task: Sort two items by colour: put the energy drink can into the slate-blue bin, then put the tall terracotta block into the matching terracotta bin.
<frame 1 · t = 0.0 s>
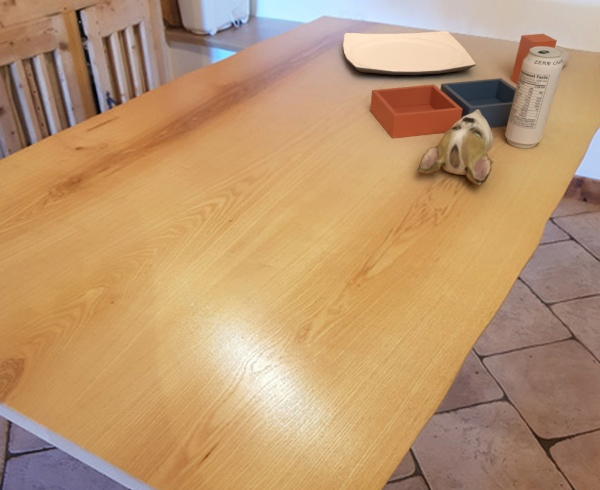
plate: (403, 60, 130), on the table
clay bin: (412, 120, 103), on the table
slate bin: (481, 113, 105), on the table
donut: (544, 65, 126), on the table
ceramic sculpture: (458, 171, 88), on the table
terracotta block: (527, 82, 117), on the table
energy drink can: (521, 142, 95), on the table
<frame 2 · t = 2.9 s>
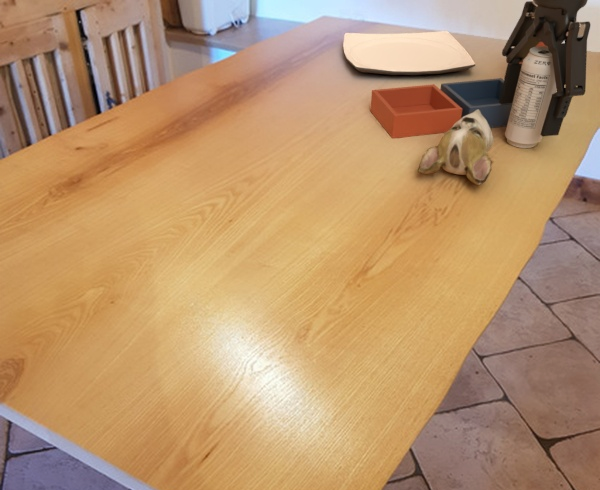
hand: (526, 118, 92), 4 cm above the table, tool pointing down, fingers open, 13 cm apart
nothing on the table moved.
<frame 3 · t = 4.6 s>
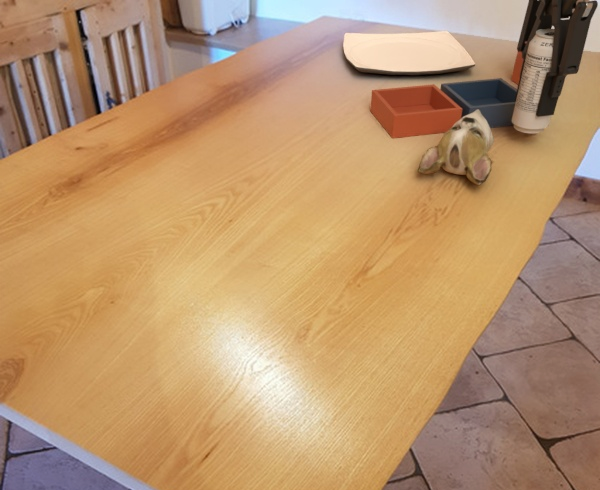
hand: (533, 107, 91), 6 cm above the table, tool pointing down, fingers closed on energy drink can, 6 cm apart
energy drink can: (528, 128, 93), point 2 cm above the table, touching gripper
everything else where it was.
when the fingers open (4 cm above the table, at t = 10.7 s): energy drink can stays where it is, resting on slate bin.
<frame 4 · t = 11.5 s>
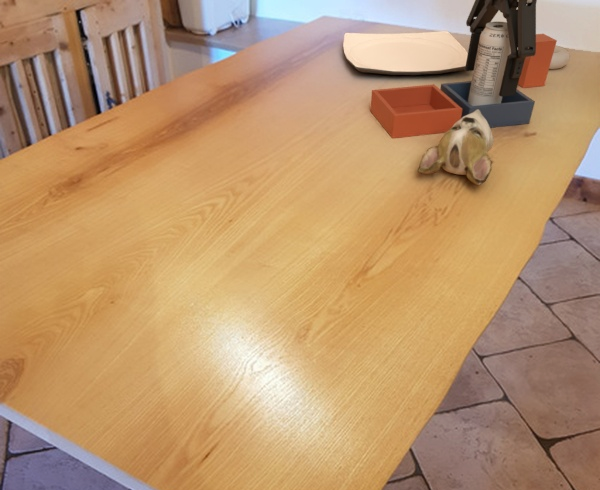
hand: (488, 82, 101), 6 cm above the table, tool pointing down, fingers open, 13 cm apart
energy drink can: (482, 111, 104), resting on slate bin
everything else where it was.
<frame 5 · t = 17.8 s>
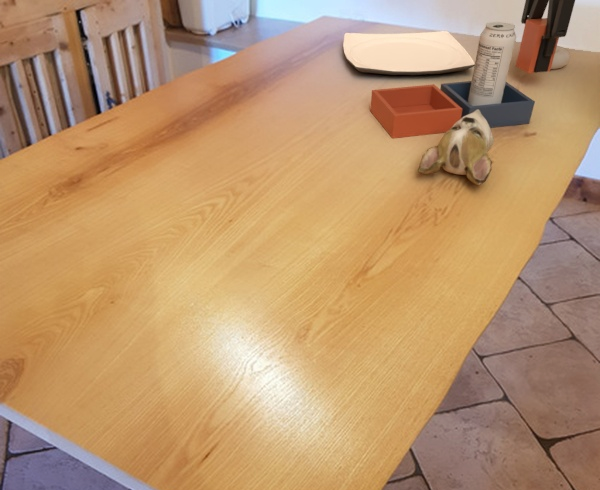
hand: (533, 67, 114), 3 cm above the table, tool pointing down, fingers closed on terracotta block, 5 cm apart
terracotta block: (532, 68, 115), point 3 cm above the table, touching gripper
everything else where it was.
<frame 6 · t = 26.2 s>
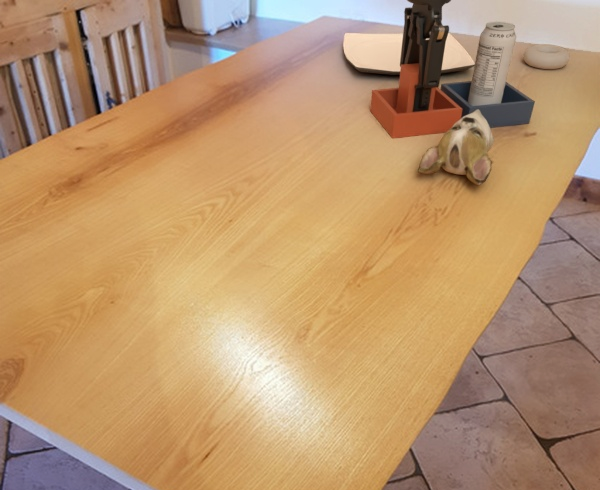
hand: (413, 116, 102), 1 cm above the table, tool pointing down, fingers closed on terracotta block, 5 cm apart
terracotta block: (412, 117, 102), point 1 cm above the table, touching clay bin, gripper
everything else where it was.
when the fingers open (3 cm above the table, at t = 27.3 s): terracotta block stays where it is, resting on clay bin.
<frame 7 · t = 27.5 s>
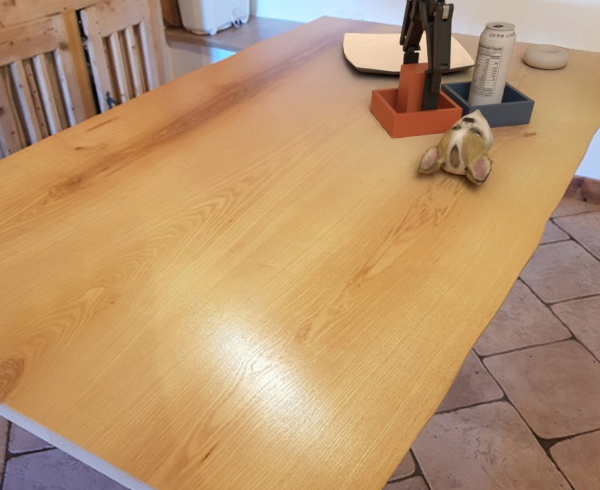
hand: (418, 99, 100), 4 cm above the table, tool pointing down, fingers open, 10 cm apart
terracotta block: (412, 117, 102), point 1 cm above the table, touching clay bin
everything else where it was.
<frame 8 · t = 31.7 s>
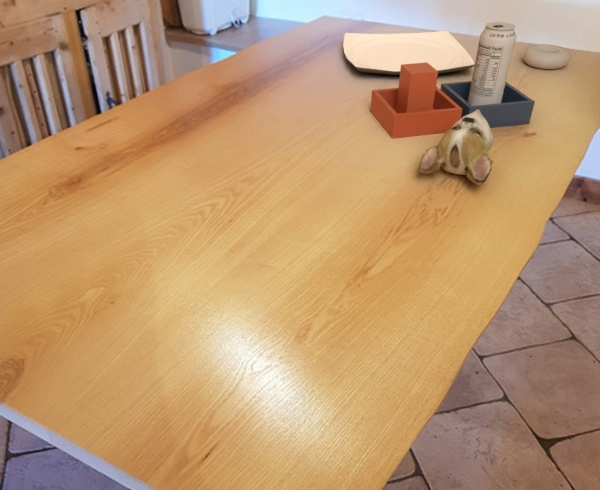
nothing on the table moved.
at the end: energy drink can inside the target area in the slate bin (0.0 cm from its centre), point 0.4 cm above the slate bin's base; terracotta block inside the target area in the clay bin (0.0 cm from its centre), point 0.6 cm above the clay bin's base; energy drink can tilted 0° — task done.
